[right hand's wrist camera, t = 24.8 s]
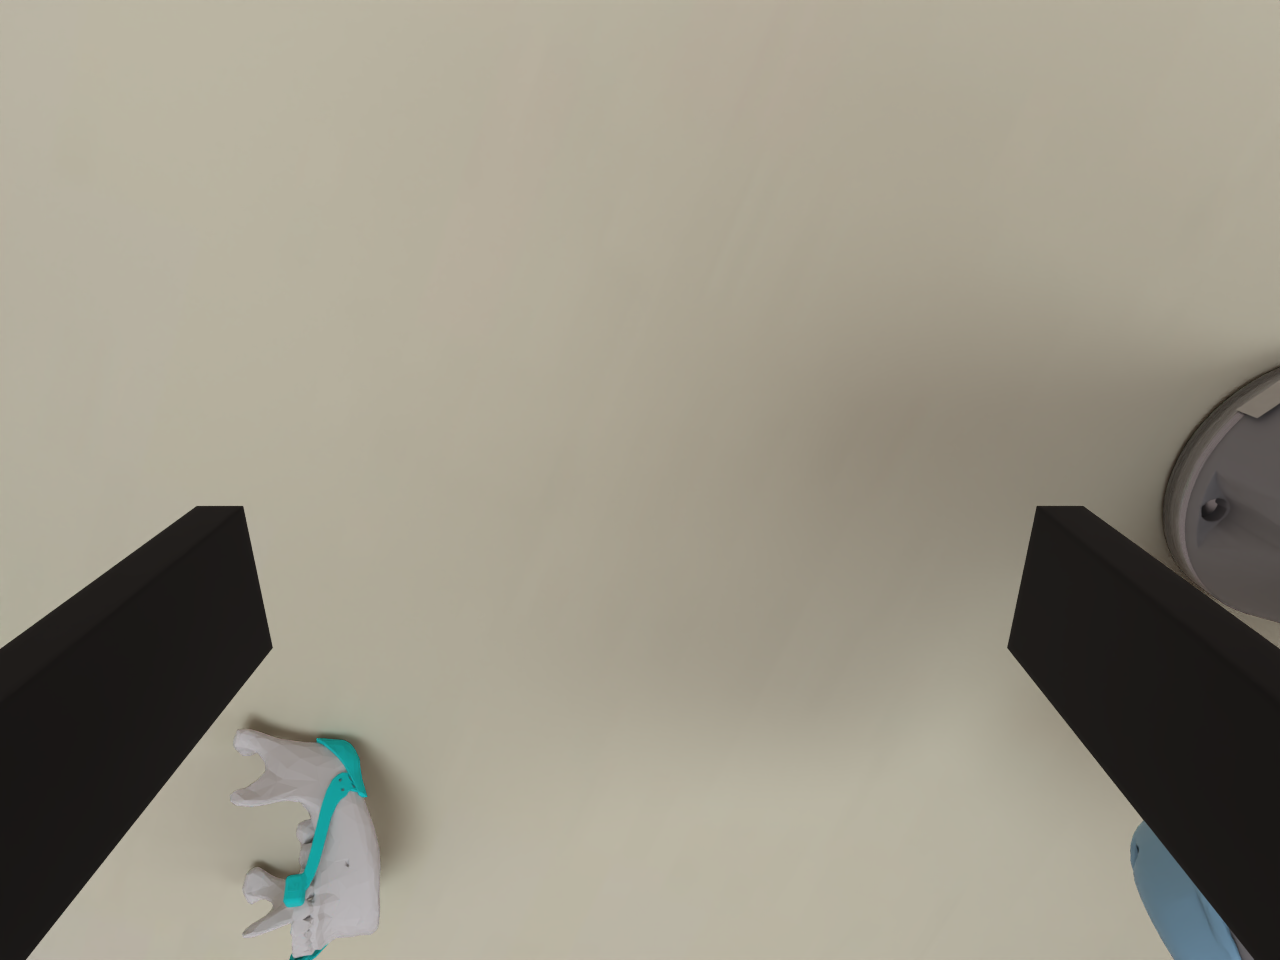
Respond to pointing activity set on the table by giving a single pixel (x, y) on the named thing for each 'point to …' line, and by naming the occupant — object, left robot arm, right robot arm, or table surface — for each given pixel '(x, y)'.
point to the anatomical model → (315, 842)
